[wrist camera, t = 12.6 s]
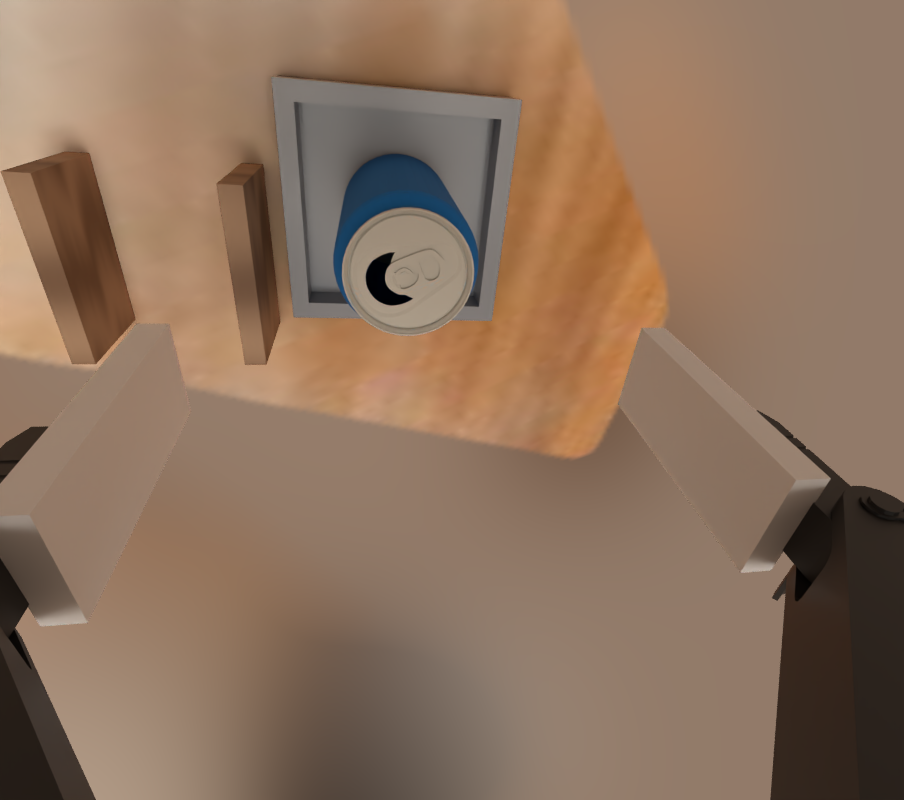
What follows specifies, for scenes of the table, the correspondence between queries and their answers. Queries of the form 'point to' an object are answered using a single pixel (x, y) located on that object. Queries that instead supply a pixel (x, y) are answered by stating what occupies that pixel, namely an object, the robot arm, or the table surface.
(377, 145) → the tray
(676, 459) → the robot arm
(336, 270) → the beverage can
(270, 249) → the cradle
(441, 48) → the table surface
